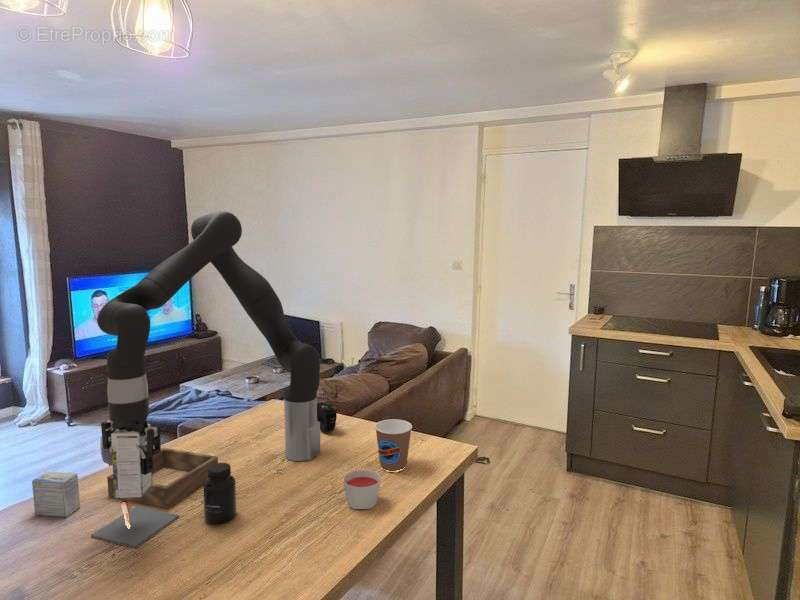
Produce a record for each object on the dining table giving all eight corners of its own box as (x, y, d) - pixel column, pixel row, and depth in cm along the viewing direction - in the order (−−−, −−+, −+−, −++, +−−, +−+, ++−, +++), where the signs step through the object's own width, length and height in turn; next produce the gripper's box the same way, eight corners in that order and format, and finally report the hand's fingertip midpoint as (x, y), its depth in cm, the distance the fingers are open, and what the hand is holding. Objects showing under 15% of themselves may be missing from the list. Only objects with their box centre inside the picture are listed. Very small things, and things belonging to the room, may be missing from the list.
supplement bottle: (206, 529, 108) (204, 476, 106) (202, 513, 114) (200, 464, 112) (239, 521, 111) (237, 470, 109) (234, 506, 117) (232, 458, 116)
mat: (178, 517, 112) (178, 515, 112) (135, 548, 101) (135, 545, 101) (137, 508, 116) (137, 506, 116) (91, 537, 105) (90, 534, 105)
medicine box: (81, 507, 116) (78, 472, 115) (66, 518, 112) (63, 481, 111) (50, 505, 117) (47, 470, 116) (34, 516, 113) (31, 480, 112)
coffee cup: (368, 471, 135) (368, 429, 133) (383, 456, 144) (384, 417, 143) (403, 479, 131) (404, 435, 129) (417, 462, 140) (417, 422, 139)
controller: (326, 438, 157) (326, 407, 156) (311, 425, 168) (311, 397, 166) (339, 435, 160) (338, 405, 158) (323, 423, 170) (323, 395, 169)
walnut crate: (218, 474, 133) (217, 456, 132) (167, 508, 116) (166, 488, 115) (164, 464, 138) (163, 447, 138) (108, 496, 121) (107, 476, 121)
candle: (364, 489, 125) (364, 465, 124) (388, 503, 119) (388, 478, 118) (335, 502, 119) (335, 477, 118) (359, 517, 112) (359, 491, 112)
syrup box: (126, 485, 110) (122, 422, 108) (153, 484, 111) (150, 422, 109) (113, 498, 105) (109, 432, 103) (142, 497, 105) (138, 432, 103)
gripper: (168, 394, 106) (172, 467, 108) (117, 388, 111) (121, 458, 113) (140, 405, 99) (145, 483, 101) (86, 398, 104) (92, 473, 106)
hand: (132, 470), depth 107 cm, fingers closed on syrup box, 7 cm apart
